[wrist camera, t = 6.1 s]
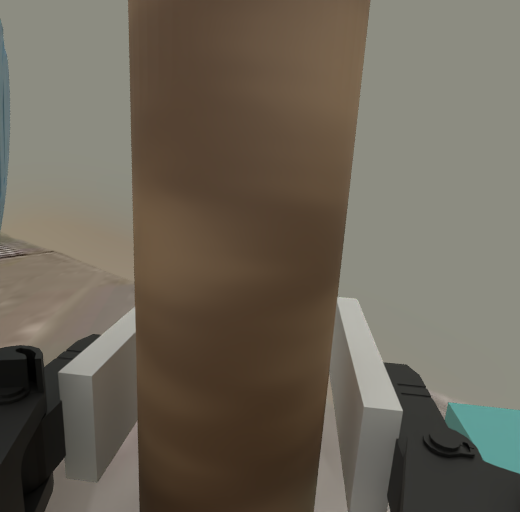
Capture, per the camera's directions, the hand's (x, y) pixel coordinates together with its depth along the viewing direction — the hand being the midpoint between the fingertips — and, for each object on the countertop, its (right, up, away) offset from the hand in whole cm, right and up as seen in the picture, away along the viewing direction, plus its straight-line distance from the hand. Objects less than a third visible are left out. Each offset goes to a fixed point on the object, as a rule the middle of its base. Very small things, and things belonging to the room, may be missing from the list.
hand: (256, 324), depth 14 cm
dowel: (-1, -12, -2) cm, 12 cm away
